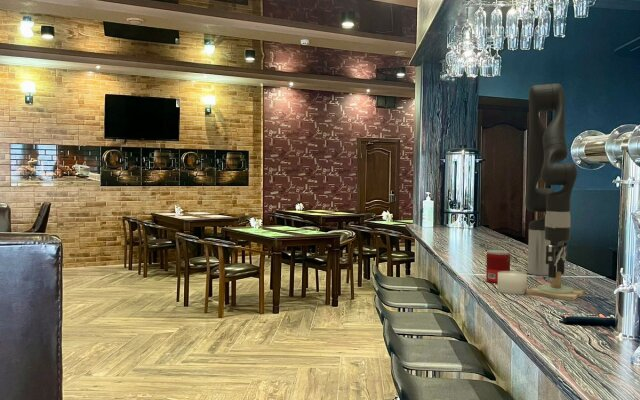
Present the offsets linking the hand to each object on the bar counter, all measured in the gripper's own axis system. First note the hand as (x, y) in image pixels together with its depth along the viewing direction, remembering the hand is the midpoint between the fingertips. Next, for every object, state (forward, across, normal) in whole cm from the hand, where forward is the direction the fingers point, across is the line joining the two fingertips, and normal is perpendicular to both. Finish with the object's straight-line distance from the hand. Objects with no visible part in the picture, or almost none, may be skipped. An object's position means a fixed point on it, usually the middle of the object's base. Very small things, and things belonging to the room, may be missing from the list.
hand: (556, 275), depth 177 cm
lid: (+5, 0, 0) cm, 5 cm away
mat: (+6, 0, 0) cm, 6 cm away
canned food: (+6, -7, -22) cm, 24 cm away
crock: (+6, +6, -12) cm, 15 cm away
